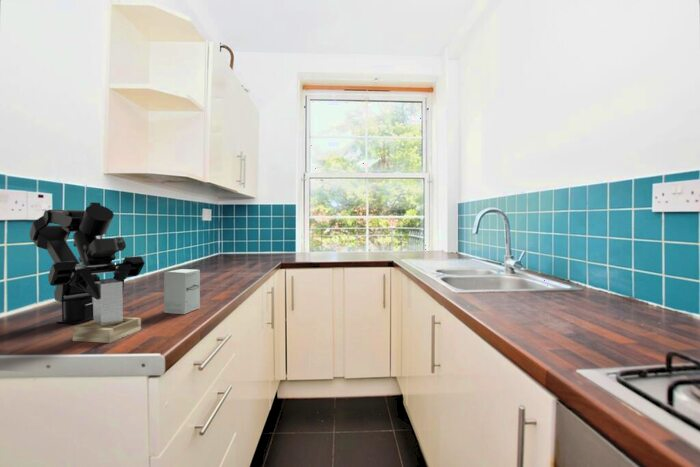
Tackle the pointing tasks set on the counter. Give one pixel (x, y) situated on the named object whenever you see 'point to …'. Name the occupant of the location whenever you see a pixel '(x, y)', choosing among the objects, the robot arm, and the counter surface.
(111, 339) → the cream square holder
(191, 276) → the supplement box
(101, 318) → the socket block
